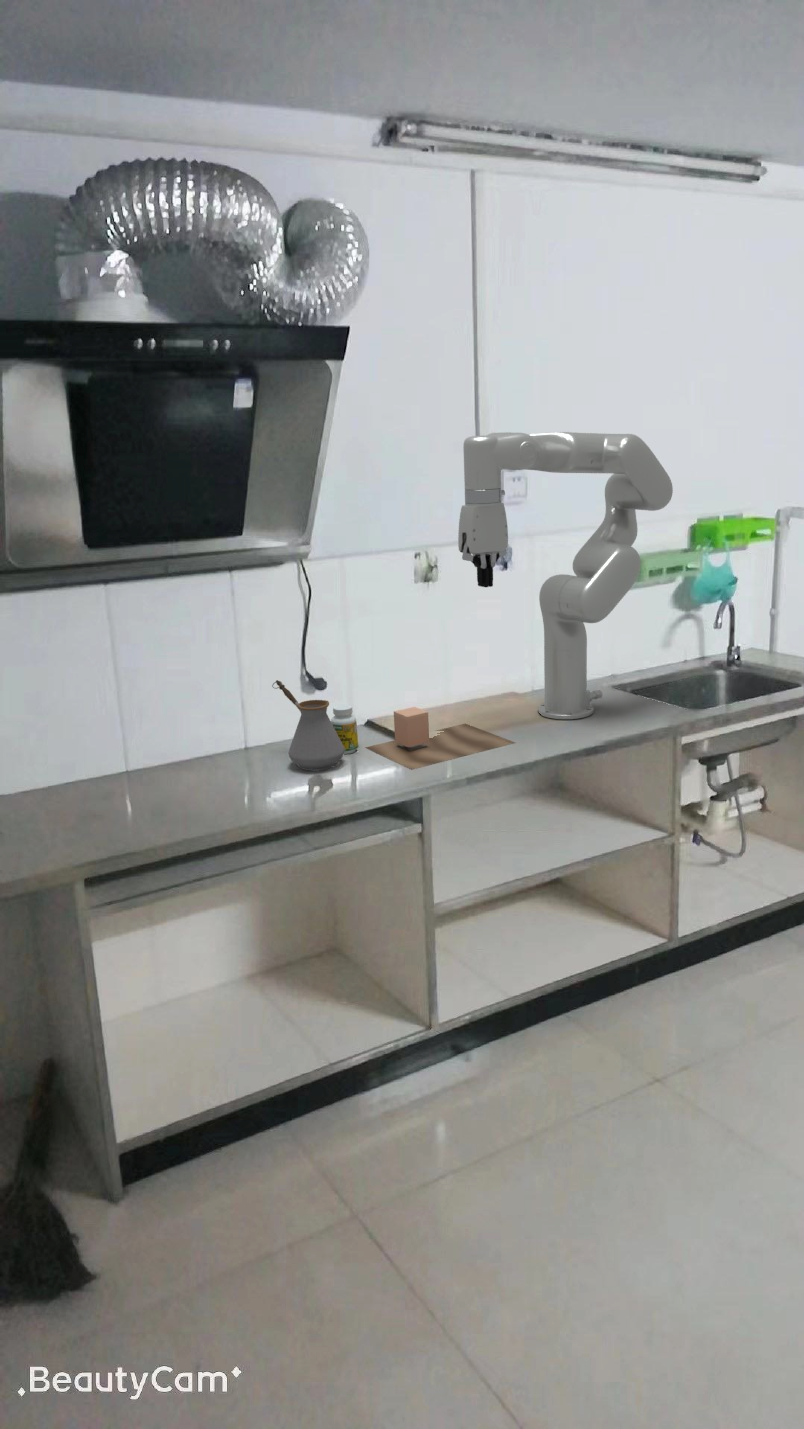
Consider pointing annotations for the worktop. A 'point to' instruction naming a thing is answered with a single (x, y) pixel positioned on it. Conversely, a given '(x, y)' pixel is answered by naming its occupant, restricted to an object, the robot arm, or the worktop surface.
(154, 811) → the worktop surface
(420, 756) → the board
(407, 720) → the tan wooden brick
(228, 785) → the worktop surface
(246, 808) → the worktop surface
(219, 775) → the worktop surface
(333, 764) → the coffee pot
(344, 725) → the supplement bottle
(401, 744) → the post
